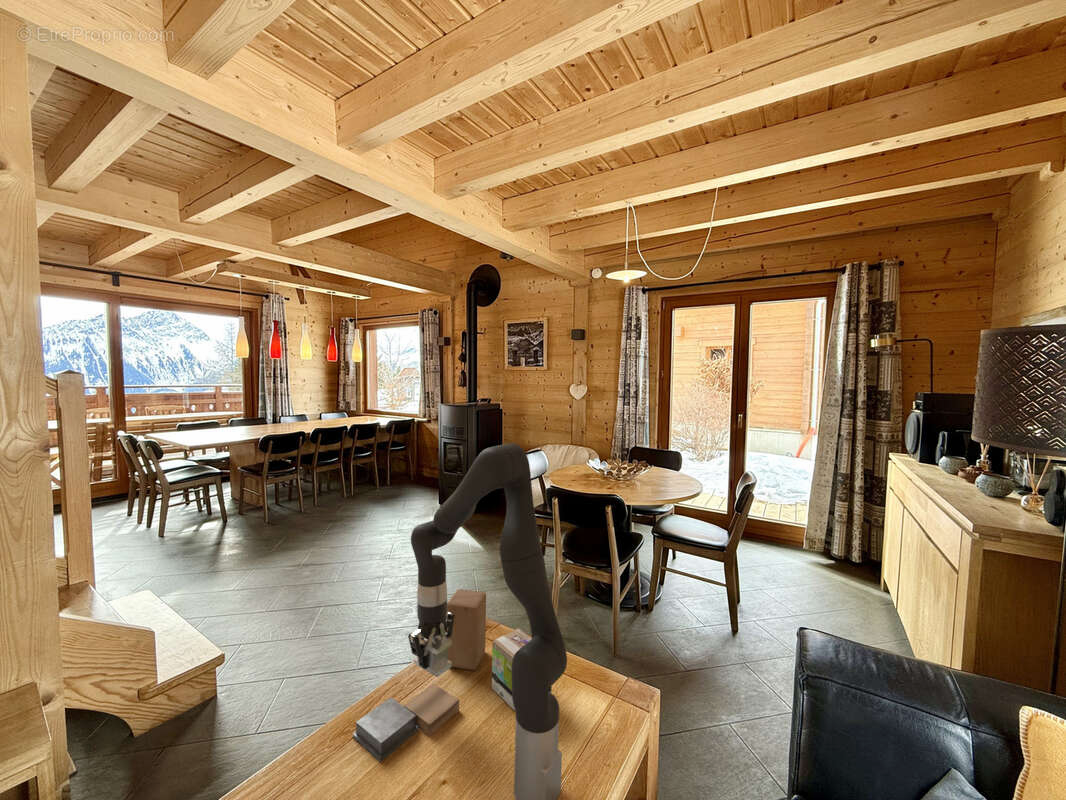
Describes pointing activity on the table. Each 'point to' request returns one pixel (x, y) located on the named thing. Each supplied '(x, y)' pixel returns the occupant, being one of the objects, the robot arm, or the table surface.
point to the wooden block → (467, 628)
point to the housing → (437, 656)
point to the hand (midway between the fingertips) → (432, 661)
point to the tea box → (506, 662)
